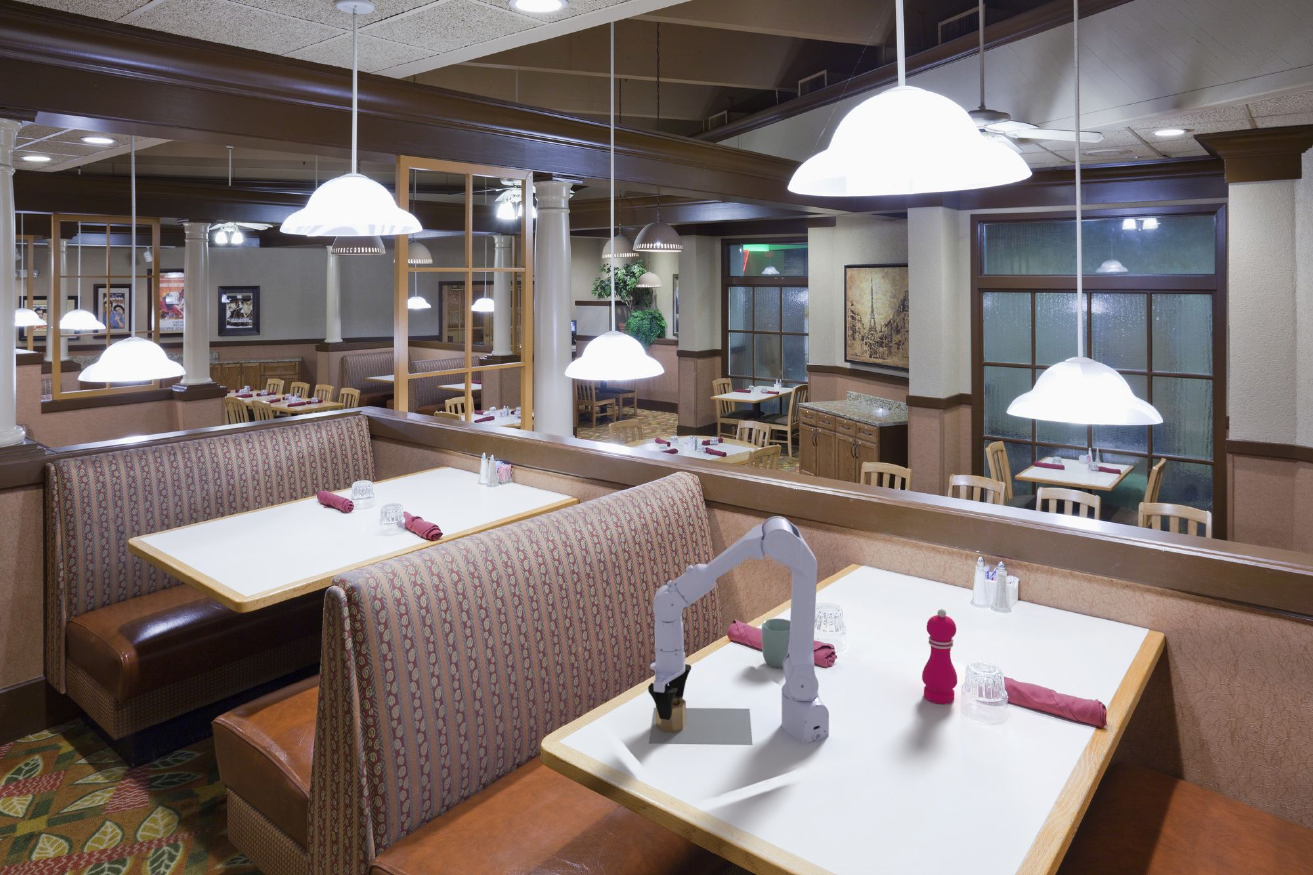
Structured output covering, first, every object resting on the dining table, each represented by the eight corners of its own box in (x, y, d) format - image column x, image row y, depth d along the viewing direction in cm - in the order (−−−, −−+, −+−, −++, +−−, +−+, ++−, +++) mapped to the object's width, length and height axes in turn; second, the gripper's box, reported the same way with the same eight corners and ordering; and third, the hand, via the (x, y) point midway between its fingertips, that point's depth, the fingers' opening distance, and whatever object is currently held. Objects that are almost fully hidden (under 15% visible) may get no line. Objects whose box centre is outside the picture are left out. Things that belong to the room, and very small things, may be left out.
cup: (785, 674, 193) (785, 634, 192) (756, 666, 198) (755, 626, 196) (801, 662, 199) (801, 622, 198) (772, 654, 204) (772, 615, 202)
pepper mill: (959, 706, 177) (962, 616, 173) (923, 704, 178) (926, 615, 175) (954, 690, 184) (957, 603, 180) (919, 688, 185) (922, 602, 182)
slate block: (749, 715, 176) (749, 708, 175) (752, 751, 162) (752, 744, 162) (654, 714, 177) (654, 707, 177) (649, 750, 163) (649, 743, 163)
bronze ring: (690, 727, 168) (689, 704, 167) (665, 734, 166) (664, 711, 165) (677, 715, 173) (676, 692, 172) (652, 722, 171) (651, 699, 170)
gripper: (661, 629, 175) (663, 690, 177) (637, 658, 161) (640, 724, 164) (694, 633, 172) (695, 694, 175) (672, 663, 159) (674, 729, 161)
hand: (671, 709), depth 169 cm, fingers open, 7 cm apart
